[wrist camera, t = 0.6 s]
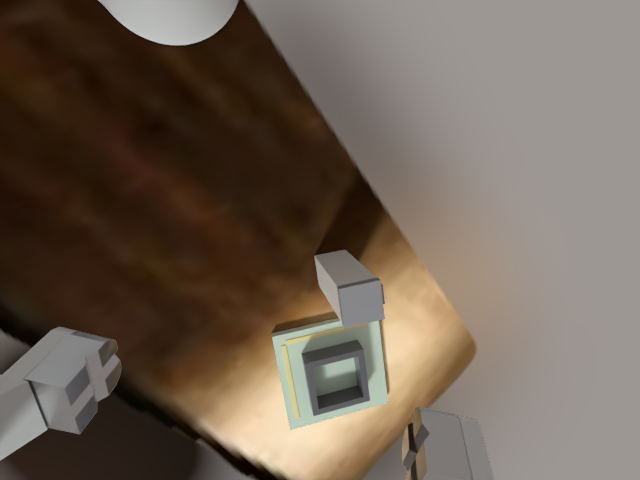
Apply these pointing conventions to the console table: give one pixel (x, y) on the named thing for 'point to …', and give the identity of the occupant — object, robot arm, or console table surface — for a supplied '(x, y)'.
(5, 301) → the console table surface
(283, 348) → the board
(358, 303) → the plug
